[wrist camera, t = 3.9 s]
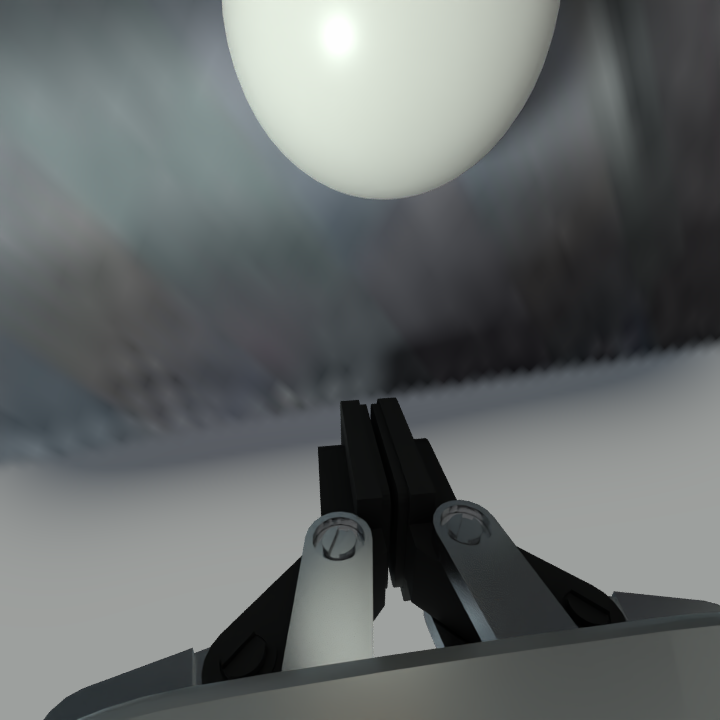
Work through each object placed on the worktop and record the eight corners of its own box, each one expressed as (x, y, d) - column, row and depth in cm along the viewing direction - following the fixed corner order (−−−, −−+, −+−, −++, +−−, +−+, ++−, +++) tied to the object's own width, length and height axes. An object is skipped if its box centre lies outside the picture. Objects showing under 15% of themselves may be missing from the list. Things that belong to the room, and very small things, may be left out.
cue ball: (491, -81, 8) (755, -452, 3) (463, 194, 11) (596, 207, 6) (231, -101, 8) (100, -584, 3) (261, 195, 10) (216, 210, 5)
